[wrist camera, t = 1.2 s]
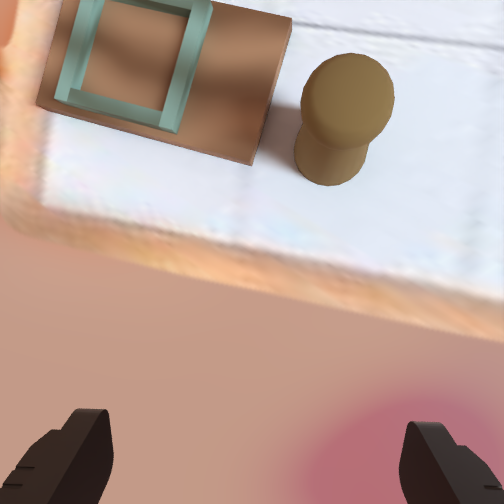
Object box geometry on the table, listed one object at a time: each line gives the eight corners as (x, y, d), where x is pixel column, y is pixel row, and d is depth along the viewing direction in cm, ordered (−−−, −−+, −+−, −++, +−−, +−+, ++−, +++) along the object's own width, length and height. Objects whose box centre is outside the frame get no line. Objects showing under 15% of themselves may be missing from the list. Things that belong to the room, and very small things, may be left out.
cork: (280, 141, 30) (271, 77, 19) (340, 99, 29) (368, 8, 18) (319, 200, 29) (333, 169, 18) (381, 159, 29) (434, 102, 18)
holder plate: (81, -17, 32) (62, -42, 29) (292, 29, 30) (291, 7, 27) (47, 110, 32) (25, 97, 30) (251, 166, 30) (247, 157, 27)
